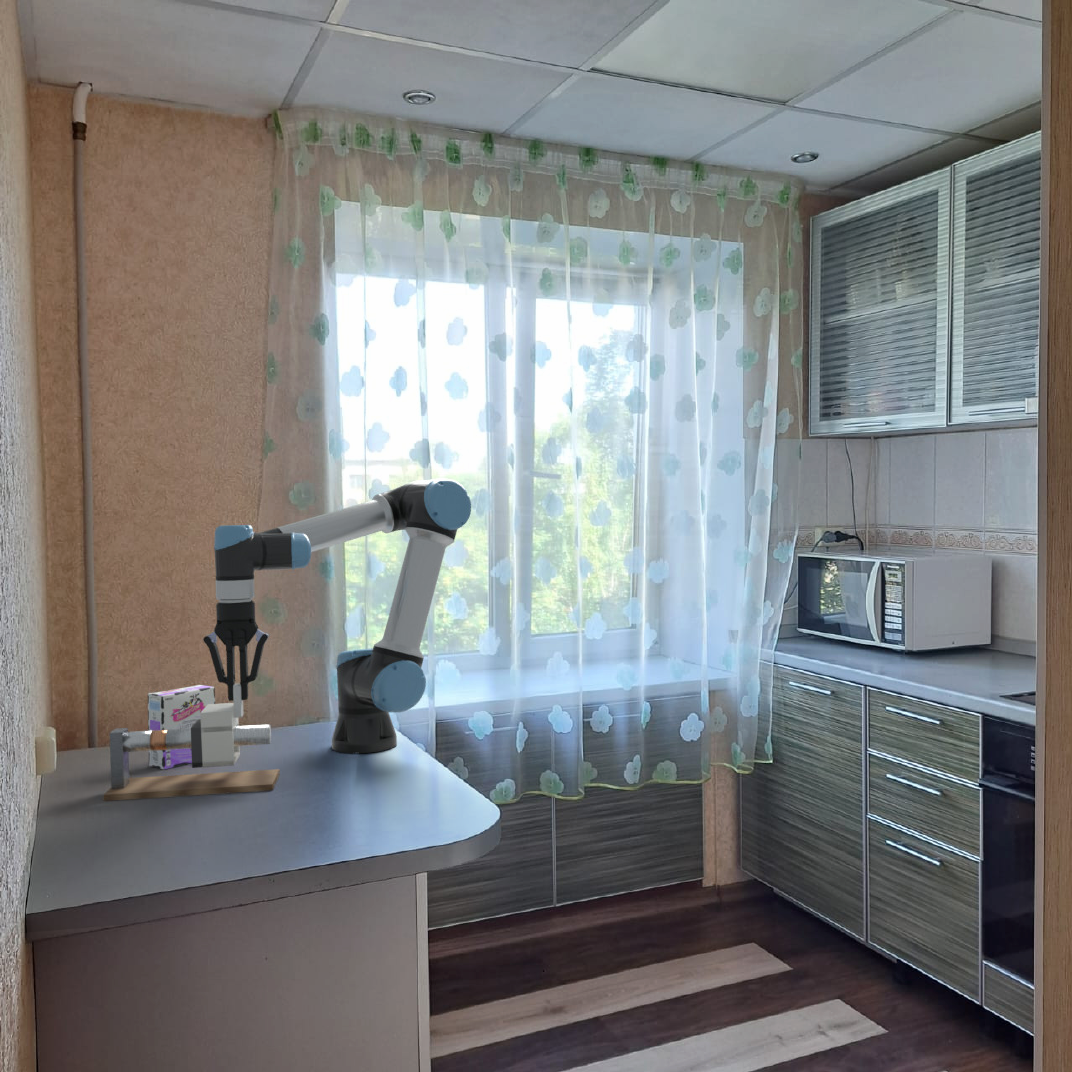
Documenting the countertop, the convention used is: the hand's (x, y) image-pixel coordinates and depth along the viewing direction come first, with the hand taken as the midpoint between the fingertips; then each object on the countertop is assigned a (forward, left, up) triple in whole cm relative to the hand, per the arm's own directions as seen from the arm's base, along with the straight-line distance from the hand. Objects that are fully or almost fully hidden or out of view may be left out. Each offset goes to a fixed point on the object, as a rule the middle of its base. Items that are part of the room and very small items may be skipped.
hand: (238, 716), depth 199 cm
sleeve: (+4, 0, -9) cm, 10 cm away
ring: (+8, 0, -9) cm, 12 cm away
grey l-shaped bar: (+9, 0, -13) cm, 16 cm away
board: (+9, 0, -14) cm, 17 cm away
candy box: (+16, -23, -14) cm, 32 cm away
